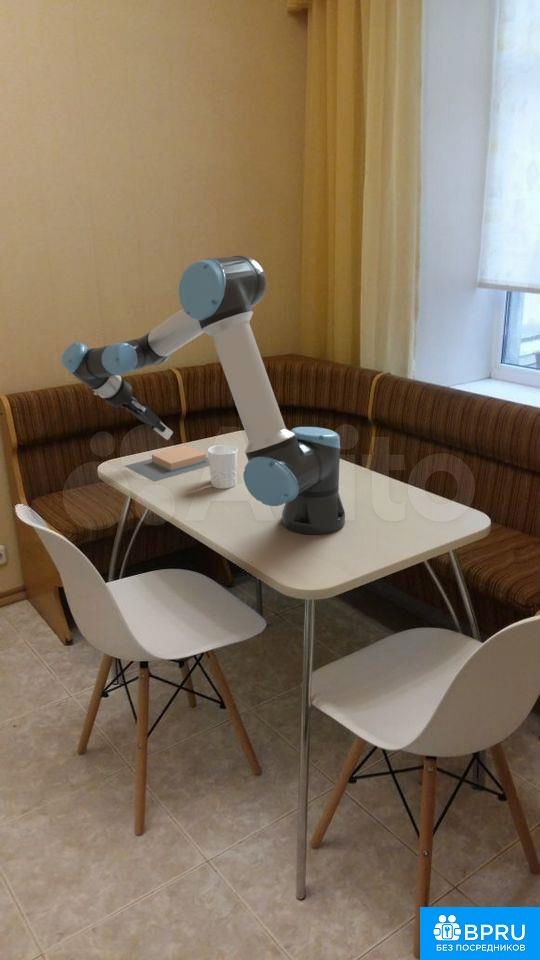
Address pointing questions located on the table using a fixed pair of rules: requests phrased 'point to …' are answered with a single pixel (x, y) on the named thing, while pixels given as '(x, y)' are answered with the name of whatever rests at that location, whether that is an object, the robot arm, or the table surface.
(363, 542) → the table surface
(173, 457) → the tile
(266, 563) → the table surface
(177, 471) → the mat
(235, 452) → the white cup
